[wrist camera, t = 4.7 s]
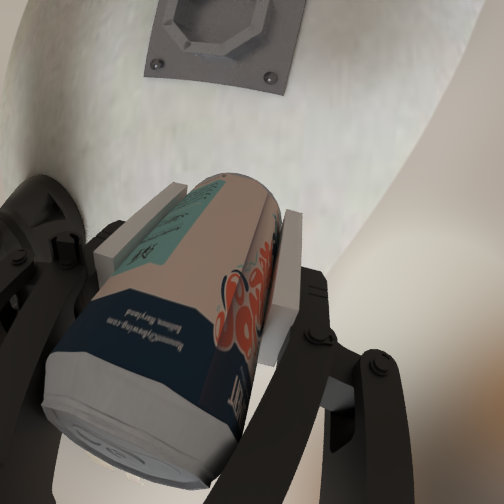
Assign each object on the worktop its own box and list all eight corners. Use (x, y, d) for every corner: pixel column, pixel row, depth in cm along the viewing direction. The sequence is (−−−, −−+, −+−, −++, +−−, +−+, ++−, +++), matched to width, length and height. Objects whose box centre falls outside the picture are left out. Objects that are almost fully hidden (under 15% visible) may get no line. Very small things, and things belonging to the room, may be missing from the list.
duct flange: (146, 76, 24) (127, 77, 21) (173, -38, 17) (158, -49, 14) (283, 95, 24) (280, 95, 21) (313, -30, 16) (314, -44, 13)
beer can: (251, 271, 16) (186, 497, 6) (176, 227, 16) (38, 422, 5) (301, 203, 14) (279, 486, 4) (214, 151, 13) (5, 350, 3)
